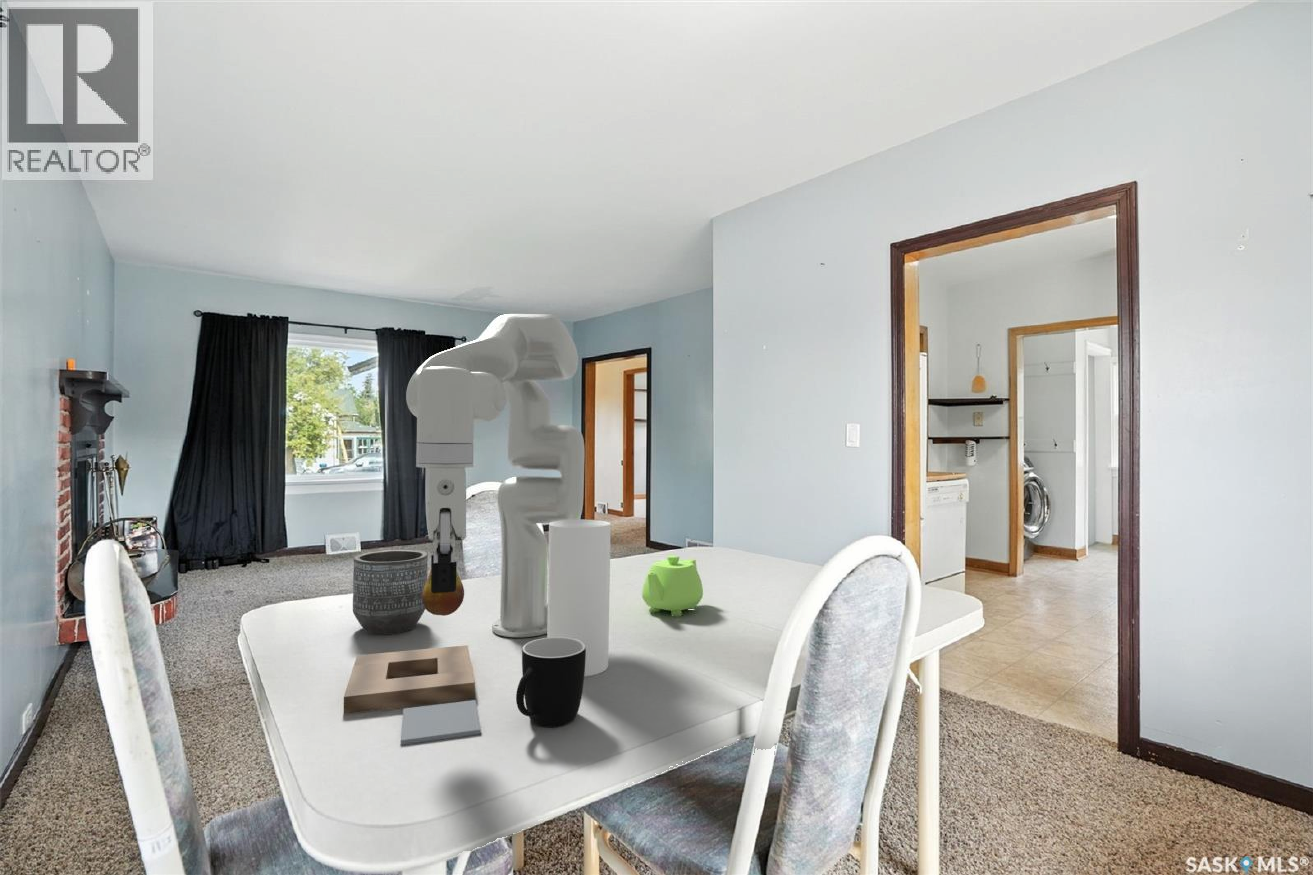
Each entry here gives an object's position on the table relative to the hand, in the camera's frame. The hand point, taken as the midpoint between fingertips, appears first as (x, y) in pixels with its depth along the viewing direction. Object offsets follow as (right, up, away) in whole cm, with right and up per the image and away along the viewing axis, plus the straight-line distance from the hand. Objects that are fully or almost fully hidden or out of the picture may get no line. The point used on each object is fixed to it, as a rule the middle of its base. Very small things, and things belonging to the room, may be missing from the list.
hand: (443, 585), depth 88 cm
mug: (+14, -20, +1) cm, 24 cm away
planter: (-25, -19, +43) cm, 53 cm away
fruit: (0, -4, 0) cm, 4 cm away
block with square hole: (-9, -19, +14) cm, 25 cm away
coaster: (0, -19, 0) cm, 19 cm away
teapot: (+33, -20, +60) cm, 71 cm away
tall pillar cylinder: (+16, -20, +23) cm, 34 cm away
